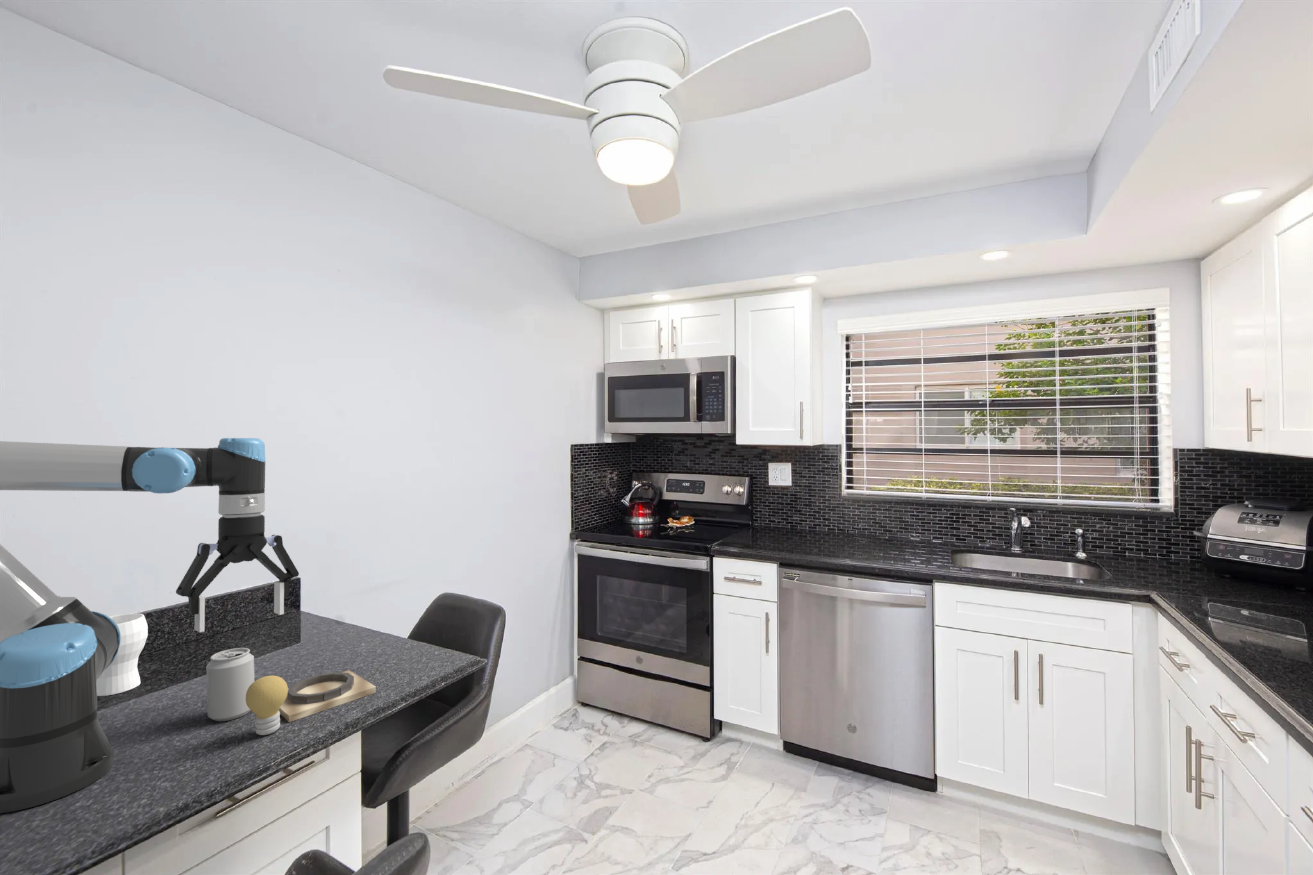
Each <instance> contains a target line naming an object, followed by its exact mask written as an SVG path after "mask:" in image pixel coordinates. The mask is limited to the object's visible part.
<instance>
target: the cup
mask: <svg viewBox="0 0 1313 875" xmlns="http://www.w3.org/2000/svg"><path fill="white" fill-rule="evenodd" d="M109 617H110V618H111V619H112V620H113V621H114V622H115V623H116V624H117V626H118V628H119V630H120V635H121V641H120V646H119V649H118V653H117V655H116V657H115V659H114V660H113V662H112V663H111V664H110V665H109V666H108V668H106V669H105V670H104V671H103V672H102V674H101V675H100V676H99V678H98V679H97V697H105V696H110V695H111V696H112V695H116V694H120V693H124V692H127V691H130V690H132V689H134V688H137V687H139V686H140V684H141V678H140V674H139V668H138V663H139V656H140V654H141V652H142V651H143V650H144V647H145V644H146V642H147V638H148V637H149V636H148V635H149V632H148V630H149V628H148V627H149V626H148V622H147V620H146V616H145V615H144V614H143V613H139V612H138V613H134V612H133V613H122V614H117V615H111V616H109Z"/></svg>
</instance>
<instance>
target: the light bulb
mask: <svg viewBox="0 0 1313 875" xmlns="http://www.w3.org/2000/svg"><path fill="white" fill-rule="evenodd" d="M254 681H255V682H253V683H252V684H251V685H250V686H249V688H248V690H247V692H246V704H247V706H248V708H249V709H250V712H252V713H253V714H255V715H256V716H255V718H254V720H255V721H254V722H255V726H254V727H255V733H256V734H257V735H259V736H267V735H271V734H273V733H275V732H277V730H278V729H280V727H281V718H280V717H281V716H280V715H281V714H280V712H279V711H278V710H279V708H280V707H281V706H282V704H283V703H284V701H285V699H286V697H287V694H288V689H289V687H288V683H287V682H286V680H284V678H282V677H280V676H278V675H265V676H262V677H260V678H258V679H256V680H254Z"/></svg>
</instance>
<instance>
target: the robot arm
mask: <svg viewBox="0 0 1313 875" xmlns="http://www.w3.org/2000/svg"><path fill="white" fill-rule="evenodd" d="M216 486H217V487H218V509H217V510H218V514H219V516H220V517H219V518H218V522H217V523H218V525H217V526H218V529H217V530H218V531H217V532H218V536H217V537H218V539H217V542H216V543H205V542H200V543H198V545H197V549H196V555H195V557H194V559H193V560H192V562H191V563H190V566H189V568H188V569H187V571H186V573H184V574H185V575H183V578H182V579H181V581H180V583H179V585H178V587H177V588H176V591H175V594H176V595H178V596H181V597H187V598H188V599H187V600H188V606H187V607H188V610H187V611H188V614H189V615H191V616H194V625H193V626H194V631H197V632H199V633H204V632H206V631H205V621H206V619H205V617H206V613H205V611H206V609H205V608H206V607H205V606H206V596H203V595H202V593H203V592H204V591H205V590H206V589H207V588H208V587H209V586H210V585H211V584H212V582H213V581H214V580H215V579H216V578H217V577H218V576H219V574H220V573H221V572H222V571H223V570H224V568H226V567H227V566H228V565H229V564H230V563H233V564H238V563H242V562H253V560H257V561H258V562H259V563H260V564H261V565H262V566H263V567H265V569H267V571H269V572H270V573H271V574H272V575H273V576H274V577H276V578H277V579H278V580H276V581H274V582H273V583H274V584H273V613H274V614H276V615H279V616H282V615H284V612H285V597H288V595H289V589H290V588H289V586H290V585H289V584H290V583H289V582H291V581H292V579H293V578H297V577H298V576H299V575H300V574H299V571H298V569H297V567H296V566H295V563H294V561H292V559H291V557H290V555H289V552H287V550H286V548H285V546H284V544H283V536H282V535H279V534H272V535H271V536H268V537H266V536H265V532H266V530H265V528H266V527H265V525H266V524H265V523H266V521H265V520H266V519H265V517H266V516H265V515H263V514H262V513H264V512H265V509H266V506H265V504H266V500H265V499H266V493H265V491H266V489H265V488H266V449H265V442H264V441H263V440H262V439H260V438H255V437H254V438H253V437H223V438H221V439H219V443H218V445H217V447H209V448H208V447H207V448H206V447H204V448H203V447H201V448H200V447H197V448H196V447H149V446H127V445H126V446H123V445H103V444H102V445H100V444H99V445H98V444H78V443H77V444H75V443H74V444H72V443H50V442H28V441H25V442H24V441H4V440H3V441H1V440H0V491H45V492H46V491H49V492H50V491H51V492H52V491H60V492H61V491H65V492H66V491H67V492H69V491H71V492H75V491H77V492H100V491H101V492H133V493H134V492H139V493H140V492H144V493H145V492H146V493H147V492H149V493H153V494H173V493H176V492H179V491H180V490H183V489H184V488H194V487H195V488H196V487H197V488H199V487H216ZM267 544H268V546H269V547H271V548H272V550H273V552H274V554H275V555H276V557H277V559H278V560H279V562H280V564H281V565H282V567H283V568H284V570H282V568H281V567H280V566H278V565H277V564H276V563H275V562H274V561H273V560H272V559H271V558H270V557H269V556H268V555H267V554H266V553H265V552H264V551H263V549H264V548H265V547H266V545H267ZM214 551H217V552H218V553H219V555H218V556H217V558H215V560H214V561H213V563H212V564H211V566H209V568H208V569H207V570H206V571H205V572H204V573H203V574H202V575H201V577H200V578H199V579H198V580H197V578H198V577H199V575H200V573H201V571H202V570H203V568H204V566H205V564H206V563H207V560H208V559H209V556H211V555H213V553H214ZM196 580H197V581H196ZM120 641H121V635H120V630H119V628H118V626H117V624H116V623H115V622H114V621H113V620H112V619H111V618H110V616H108V615H106V614H104V613H101V612H98V611H93V610H90V609H89V608H88V607H87V606H86V605H84V603H82V601H80V600H79V599H78V598H77V597H75V596H60V595H57V594H55V592H54V591H52V590H51V589H50V588H49V587H48V586H47V585H46V584H45V583H43V582H42V581H41V580H40V579H39V578H38V577H37V576H36V575H35V574H34V573H33V572H32V571H31V570H30V569H28V568H27V567H26V566H25V565H24V564H23V563H22V562H20V561H19V560H18V559H17V558H16V557H15V556H14V555H13V554H12V553H11V552H9V551H8V550H7V549H6V548H5V547H4V546H3V545H2V544H1V543H0V814H3V813H5V814H6V813H11V812H12V813H13V812H17V811H21V810H25V809H29V808H33V807H36V806H40V805H43V804H47V803H49V802H53V801H55V800H58V799H60V798H64V797H66V796H68V795H70V794H73V793H75V792H79V791H80V790H83V789H84V788H86V787H87V786H89V785H91V784H93V783H95V782H97V781H98V780H100V779H101V778H102V777H104V776H105V775H106V774H107V773H108V772H109V771H111V769H112V768H113V766H114V750H113V747H112V745H111V743H110V742H109V739H108V737H107V735H106V734H105V732H104V730H103V728H102V726H101V724H100V722H99V720H98V696H97V679H98V678H99V676H100V675H101V674H102V672H103V671H104V670H105V669H106V668H108V666H109V665H110V664H111V663H112V662H113V660H114V659H115V657H116V655H117V653H118V649H119V646H120Z"/></svg>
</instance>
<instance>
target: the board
mask: <svg viewBox="0 0 1313 875" xmlns="http://www.w3.org/2000/svg"><path fill="white" fill-rule="evenodd" d="M376 693H377V686H376V685H374V684H373V683H371V682H369V681H367V680H366V679H365V678H363V677H361V676H360V675H358V674H356V673H355V672H353V671H352V670H350V669H348V670H345V671H342V672H339V671H333V672H326V673H320V674H316V675H313V676H310V677H306V678H303V679H300V680H299V681H297V682H295V683H293V684H292V685H290V687H288V694H287V697H286V699H285V701H284V703H283V704H282V706H281V707H280V708H279V710H278V711H279V712H280V715H281V717H283V719H284V720H286V721H287V722H289V723H291V722H295V721H298V720H300V719H302V718H305V717H308V716H312V715H314V714H317V713H321V712H323V711H326V710H329V709H332V708H334V707H335V708H336V707H338V706H341V705H344V704H347V703H350V702H353V701H354V700H358V699H361V698H364V697H367V696H369V695H373V694H376Z"/></svg>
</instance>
